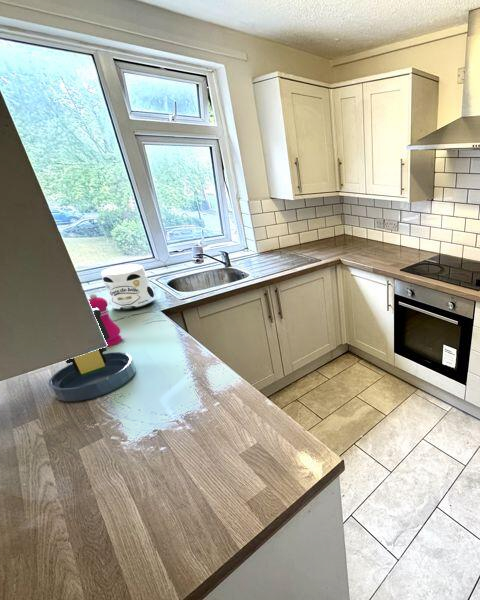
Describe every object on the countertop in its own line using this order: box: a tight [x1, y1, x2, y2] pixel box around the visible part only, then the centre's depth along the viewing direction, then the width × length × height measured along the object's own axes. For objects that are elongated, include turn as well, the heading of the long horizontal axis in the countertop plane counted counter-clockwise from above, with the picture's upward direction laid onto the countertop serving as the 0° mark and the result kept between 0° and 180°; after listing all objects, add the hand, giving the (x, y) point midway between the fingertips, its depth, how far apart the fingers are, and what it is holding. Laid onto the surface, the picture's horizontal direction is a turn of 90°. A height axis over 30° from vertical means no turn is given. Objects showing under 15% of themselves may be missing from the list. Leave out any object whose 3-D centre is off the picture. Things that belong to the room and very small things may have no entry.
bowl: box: [48, 351, 136, 402], centre depth 102 cm, size 19×19×5 cm
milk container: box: [100, 264, 156, 311], centre depth 153 cm, size 17×17×18 cm
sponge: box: [74, 350, 106, 377], centre depth 99 cm, size 8×6×7 cm
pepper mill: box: [88, 293, 123, 347], centre depth 121 cm, size 7×7×20 cm
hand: (91, 365), depth 100 cm, fingers closed on sponge, 5 cm apart
